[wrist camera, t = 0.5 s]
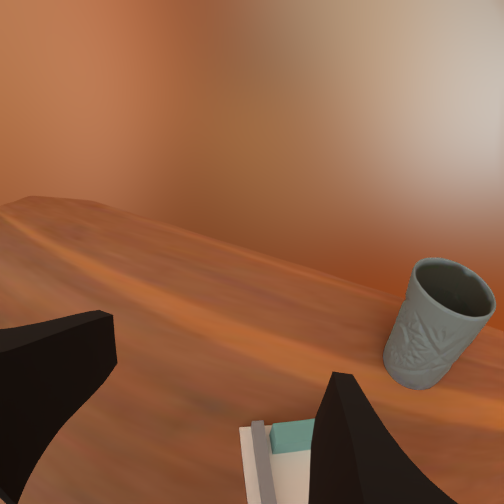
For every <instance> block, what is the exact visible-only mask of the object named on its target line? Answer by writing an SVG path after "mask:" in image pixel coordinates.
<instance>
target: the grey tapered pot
mask: <svg viewBox="0 0 504 504" xmlns="http://www.w3.org/2000/svg"><path fill="white" fill-rule="evenodd" d="M495 308H496V301H495V297H494V294H493V292H492V291H491V289H490V287H489V286H488V285H487V284H486V283H485V281H484V280H483V279H482V278H480V277H479V276H478V275H477V274H476V273H475V272H473V271H471V270H470V269H468V268H467V267H465V266H463V265H461V264H459V263H457V262H454V261H451V260H448V259H444V258H425V259H421V260H420V261H418V262H417V263H416V264H415V266H414V268H413V270H412V274H411V277H410V281H409V284H408V289H407V292H406V300H405V301H404V302H403V303H402V305H401V308H400V310H399V314H398V316H397V318H396V323H395V324H394V326H393V329H392V331H391V334H390V336H389V339H388V341H387V343H386V346H385V348H384V352H383V361H384V365H385V368H386V370H387V371H388V373H389V374H390V376H391V377H392V378H393V379H394V380H395V381H396V382H398V383H399V384H401V385H403V386H405V387H407V388H410V389H414V390H424V389H428V388H431V387H432V386H434V385H435V384H436V383H438V381H439V380H440V379H441V378H442V377H443V376H444V375H445V374H446V373H447V372H448V371H449V369H450V368H451V365H452V364H453V363H454V362H455V361H456V360H457V359H458V358H459V356H460V355H461V353H462V352H463V351H464V350H465V349H466V348H467V347H468V346H469V345H470V344H471V343H472V341H473V340H474V339H475V337H476V336H477V335H478V333H479V332H480V331H481V329H482V328H483V327H484V326H485V324H486V323H487V322H488V320H489V319H490V317H491V316H492V315H493V313H494V311H495Z"/></svg>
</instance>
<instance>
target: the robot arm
mask: <svg viewBox="0 0 504 504" xmlns="http://www.w3.org/2000/svg"><path fill="white" fill-rule="evenodd" d="M116 364H117V355H116V346H115V335H114V323H113V315H112V314H109V313H106V312H103V311H101V310H96V311H89V312H84V313H80V314H75V315H71V316H67V317H62V318H58V319H54V320H50V321H46V322H41V323H36V324H31V325H26V326H21V327H15V328H8V329H0V498H1V499H2V500H3V501H4V502H5V503H6V504H18V502H19V499H20V497H21V494H22V492H23V489H24V487H25V485H26V483H27V480H28V479H29V477H30V475H31V473H32V471H33V469H34V467H35V465H36V464H37V462H38V460H39V459H40V457H41V456H42V454H43V452H44V451H45V449H46V448H47V446H48V445H49V443H50V442H51V441H52V439H53V438H54V436H55V435H56V434H57V432H58V431H59V430H60V428H61V427H62V426H63V425H64V424H65V423H66V421H67V420H68V419H69V418H70V417H71V416H72V415H73V414H74V413H75V412H76V411H77V410H78V409H79V408H80V407H81V406H82V405H83V404H84V403H85V402H86V401H87V400H88V399H89V398H90V397H91V396H92V395H93V394H94V393H95V392H96V390H97V389H98V388H99V387H100V386H101V385H102V384H103V383H104V382H105V380H106V379H107V377H108V376H109V375H110V373H111V372H112V370H113V369H114V367H115V366H116ZM308 504H458V503H456V502H455V501H454V500H452V499H451V498H450V497H449V496H447V495H446V494H445V493H444V492H443V491H442V490H440V489H439V488H438V487H437V486H436V485H435V484H434V483H432V482H431V481H430V480H429V479H428V478H427V477H426V476H425V475H424V474H423V473H422V472H421V471H420V470H419V468H418V467H417V466H416V465H415V464H414V463H413V462H412V461H411V460H410V459H409V458H408V456H407V455H406V454H405V453H404V452H403V450H402V449H401V448H400V447H399V445H398V444H397V443H396V441H395V440H394V439H393V437H392V436H391V435H390V433H389V432H388V430H387V429H386V428H385V426H384V425H383V423H382V422H381V420H380V419H379V417H378V416H377V414H376V413H375V411H374V409H373V408H372V406H371V404H370V403H369V401H368V399H367V398H366V396H365V394H364V393H363V391H362V389H361V388H360V386H359V384H358V383H357V381H356V379H355V378H354V376H353V375H352V374H345V373H338V372H332V375H331V378H330V381H329V384H328V386H327V389H326V392H325V394H324V397H323V400H322V402H321V405H320V407H319V410H318V412H317V415H316V417H315V422H314V428H313V435H312V441H311V453H310V479H309V500H308Z"/></svg>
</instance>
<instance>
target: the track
mask: <svg viewBox="0 0 504 504" xmlns="http://www.w3.org/2000/svg"><path fill="white" fill-rule="evenodd" d="M314 422H315V419H308V420H300V421H292V422H283V423H273V425H267V426H264V420H261V421H252V423H251V427H239V432H240V441H241V451H242V460H243V469H244V477H245V486H246V494H247V502H248V504H308V500H309V479H310V453H311V441H312V435H313V428H314Z"/></svg>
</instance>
